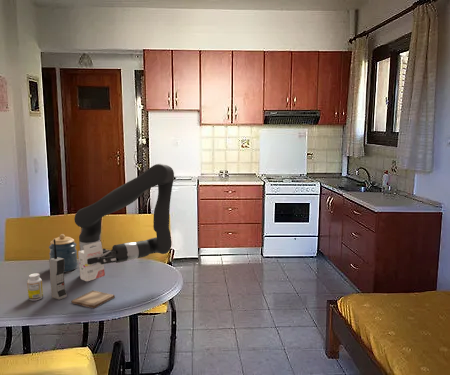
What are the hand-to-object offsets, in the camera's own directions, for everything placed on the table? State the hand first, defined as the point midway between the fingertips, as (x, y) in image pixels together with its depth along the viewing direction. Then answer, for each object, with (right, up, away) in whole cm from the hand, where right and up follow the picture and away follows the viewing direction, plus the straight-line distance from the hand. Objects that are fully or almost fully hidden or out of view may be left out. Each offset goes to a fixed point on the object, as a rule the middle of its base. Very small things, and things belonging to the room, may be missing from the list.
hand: (85, 259), depth 173 cm
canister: (-25, -12, +44) cm, 52 cm away
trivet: (+2, -17, +4) cm, 18 cm away
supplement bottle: (-23, -17, +6) cm, 29 cm away
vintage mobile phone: (-13, -17, +7) cm, 23 cm away
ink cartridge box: (+2, -8, +3) cm, 9 cm away
